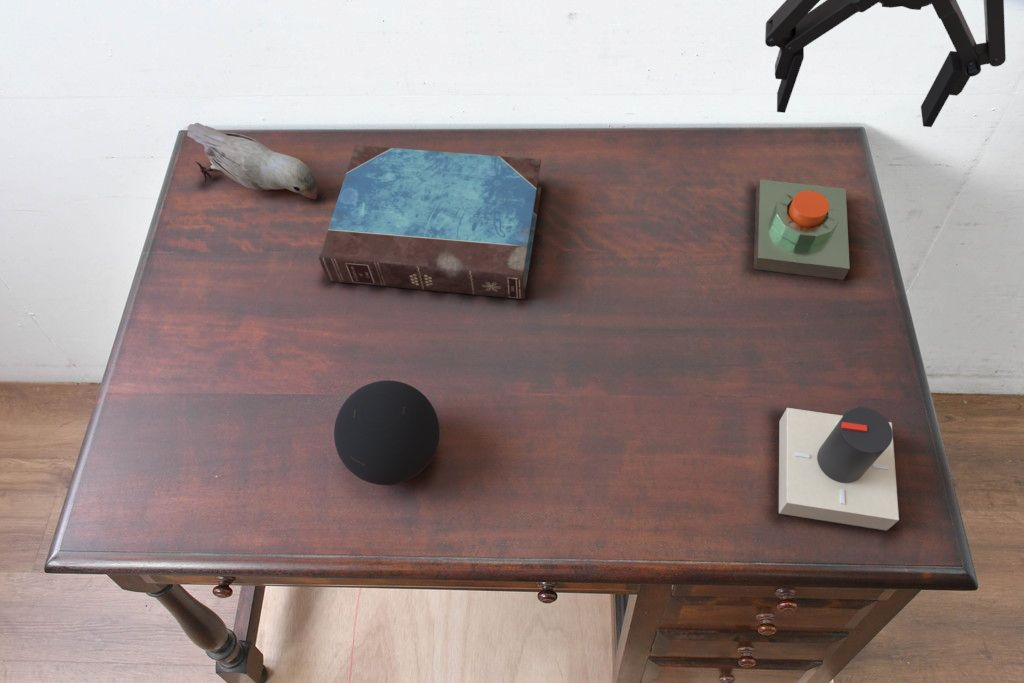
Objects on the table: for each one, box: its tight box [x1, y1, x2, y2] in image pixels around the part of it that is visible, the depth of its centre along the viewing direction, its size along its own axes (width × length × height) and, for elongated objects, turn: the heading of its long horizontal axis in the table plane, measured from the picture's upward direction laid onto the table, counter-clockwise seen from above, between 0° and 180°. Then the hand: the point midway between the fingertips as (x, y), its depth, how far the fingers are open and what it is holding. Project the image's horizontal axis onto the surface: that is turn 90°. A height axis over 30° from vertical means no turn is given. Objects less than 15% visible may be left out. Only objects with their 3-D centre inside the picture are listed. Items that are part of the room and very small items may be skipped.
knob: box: [817, 406, 894, 483], centre depth 72 cm, size 4×4×7 cm
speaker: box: [333, 380, 440, 486], centre depth 76 cm, size 10×10×10 cm
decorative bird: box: [186, 122, 318, 200], centre depth 98 cm, size 5×16×8 cm, turn 70°
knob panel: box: [778, 407, 900, 531], centre depth 77 cm, size 10×10×3 cm
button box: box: [753, 179, 851, 281], centre depth 92 cm, size 12×10×4 cm
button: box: [789, 191, 829, 227], centre depth 90 cm, size 4×4×2 cm
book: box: [318, 144, 542, 300], centre depth 93 cm, size 23×18×5 cm
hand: (852, 110), depth 77 cm, fingers open, 13 cm apart
